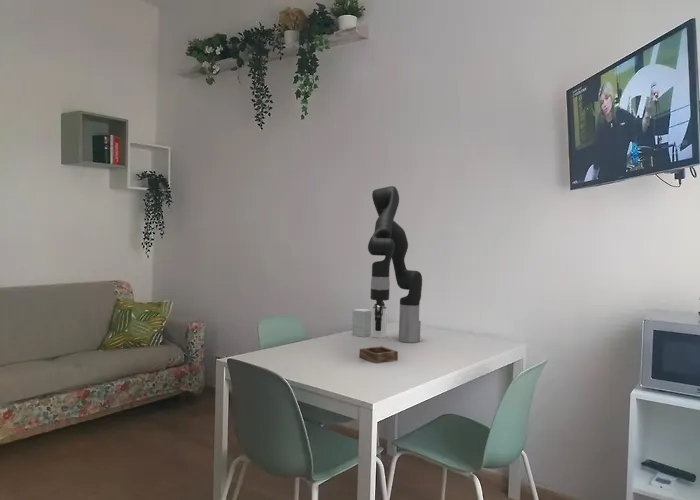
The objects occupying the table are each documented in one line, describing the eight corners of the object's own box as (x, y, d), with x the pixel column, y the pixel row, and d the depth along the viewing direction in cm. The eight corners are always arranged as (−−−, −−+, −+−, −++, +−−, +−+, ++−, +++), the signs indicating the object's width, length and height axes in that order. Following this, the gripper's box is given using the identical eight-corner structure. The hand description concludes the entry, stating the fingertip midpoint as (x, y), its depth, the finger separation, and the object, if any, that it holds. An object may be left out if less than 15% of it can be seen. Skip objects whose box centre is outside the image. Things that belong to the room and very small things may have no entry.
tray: (381, 354, 232) (381, 346, 232) (397, 360, 223) (397, 351, 223) (359, 357, 226) (359, 348, 226) (375, 363, 217) (375, 354, 217)
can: (375, 339, 220) (376, 308, 220) (367, 336, 226) (368, 306, 225) (389, 338, 223) (390, 308, 223) (381, 335, 229) (382, 305, 228)
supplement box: (372, 335, 274) (373, 309, 273) (363, 337, 268) (364, 311, 268) (361, 333, 279) (361, 308, 278) (351, 335, 273) (352, 309, 273)
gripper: (372, 285, 231) (371, 325, 232) (369, 289, 217) (367, 332, 218) (390, 286, 230) (389, 326, 231) (388, 290, 216) (387, 333, 217)
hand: (378, 329), depth 224 cm, fingers closed on can, 6 cm apart
